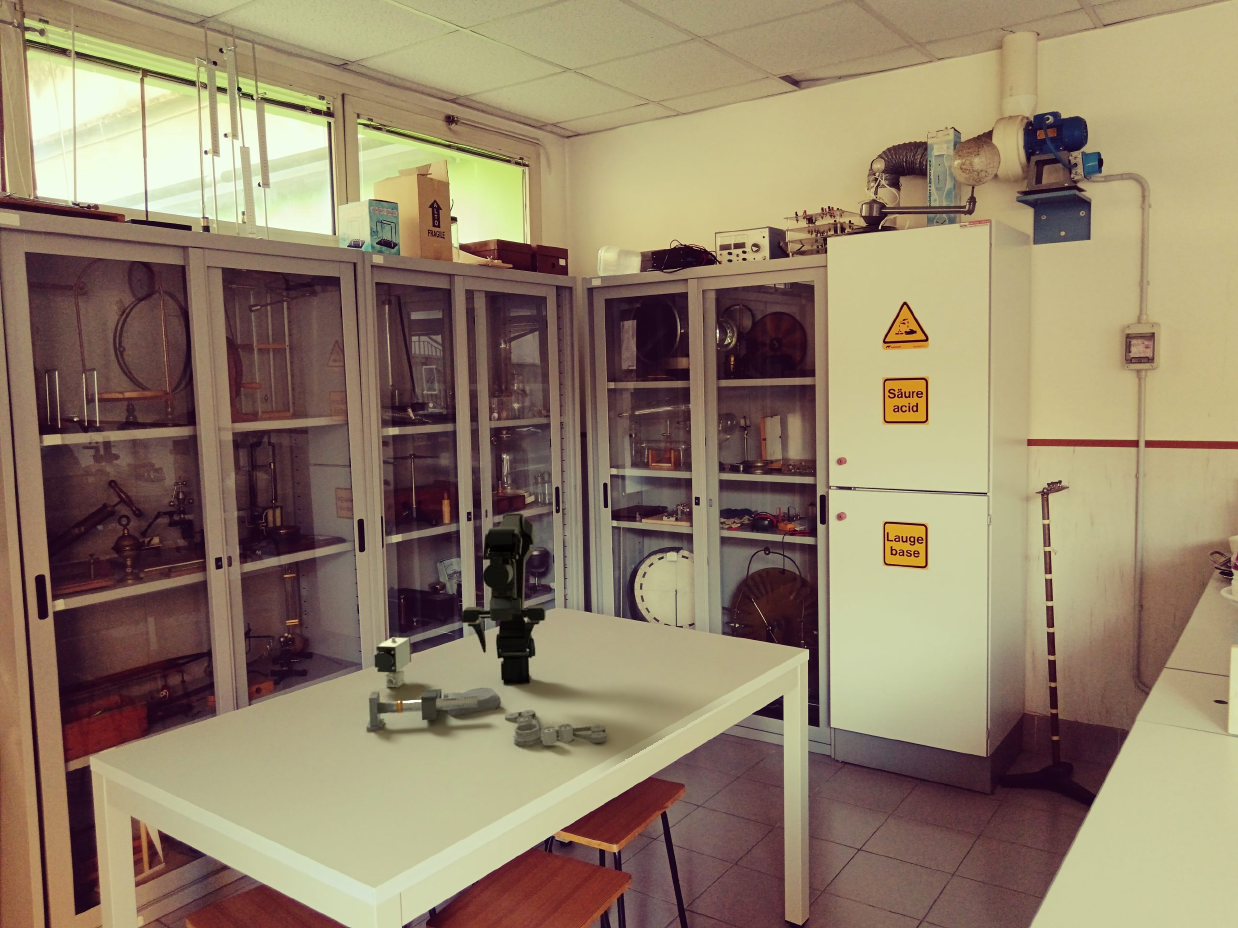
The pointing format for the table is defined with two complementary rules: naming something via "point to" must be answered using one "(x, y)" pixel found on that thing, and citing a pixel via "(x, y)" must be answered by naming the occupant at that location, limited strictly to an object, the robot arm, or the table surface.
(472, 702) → the linear shaft assembly
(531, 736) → the pulley system
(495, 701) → the stone block
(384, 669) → the pneumatic valve
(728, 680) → the table surface
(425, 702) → the collar
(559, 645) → the table surface
